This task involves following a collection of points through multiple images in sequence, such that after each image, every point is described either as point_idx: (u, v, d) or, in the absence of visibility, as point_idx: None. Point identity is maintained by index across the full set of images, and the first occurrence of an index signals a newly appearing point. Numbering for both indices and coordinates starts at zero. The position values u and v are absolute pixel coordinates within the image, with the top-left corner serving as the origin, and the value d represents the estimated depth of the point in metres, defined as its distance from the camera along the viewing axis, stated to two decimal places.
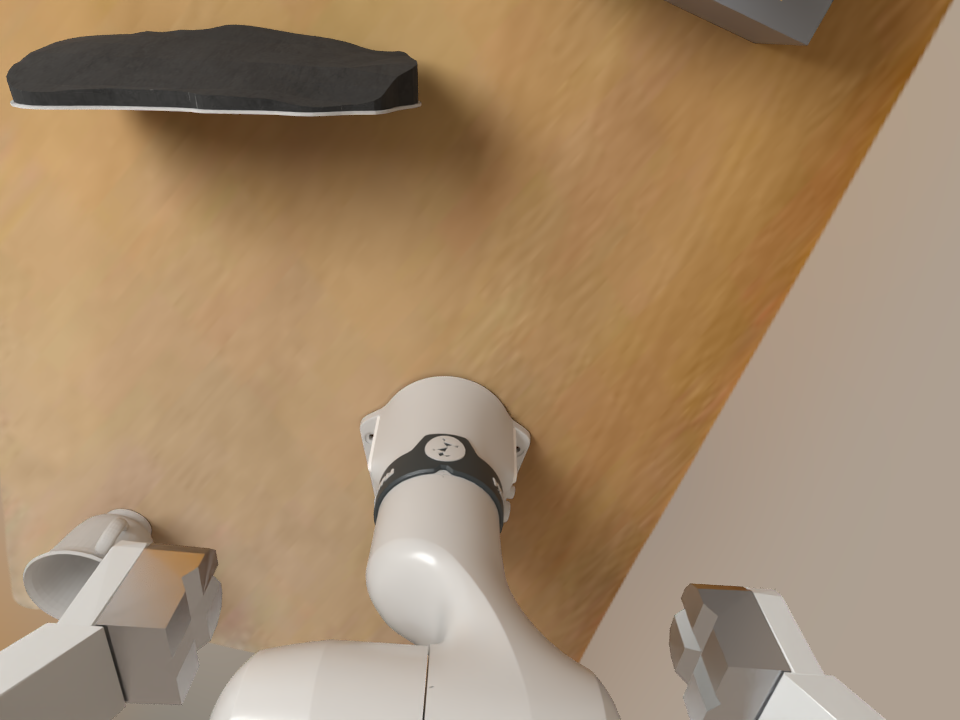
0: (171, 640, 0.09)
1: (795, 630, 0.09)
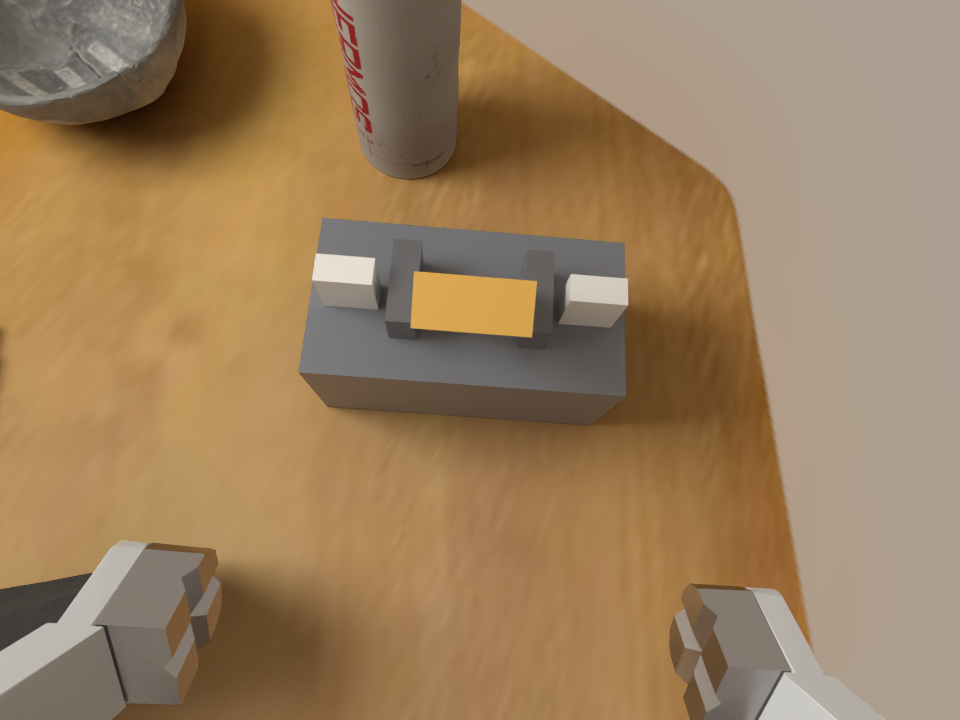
0: (171, 640, 0.09)
1: (794, 630, 0.09)
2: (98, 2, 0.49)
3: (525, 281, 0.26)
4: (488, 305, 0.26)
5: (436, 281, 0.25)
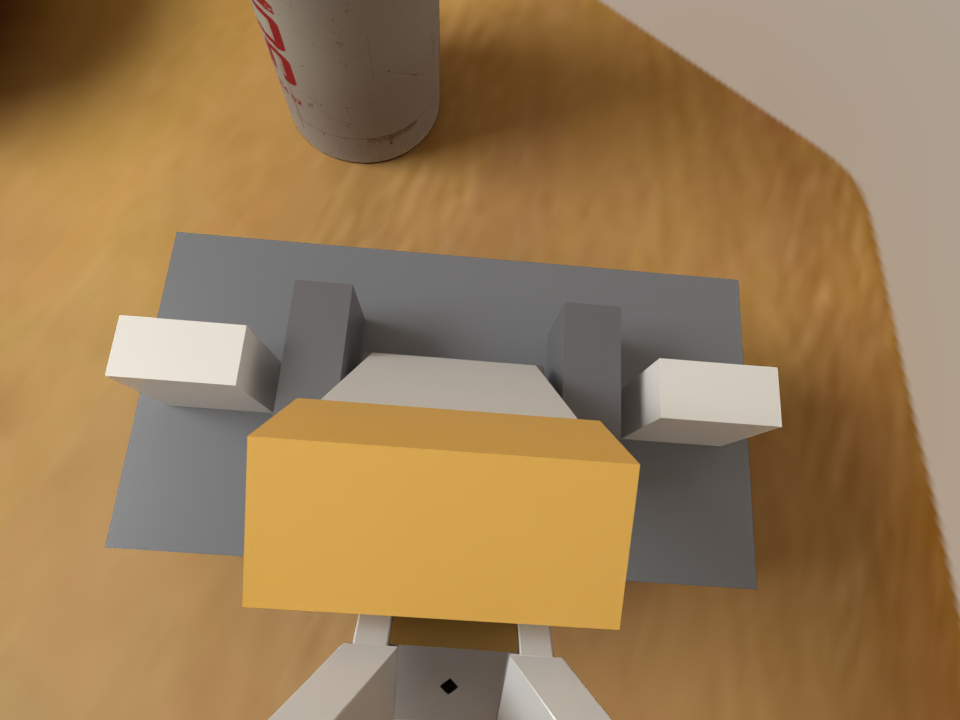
0: (453, 659, 0.09)
1: None
2: None
3: (603, 466, 0.08)
4: (486, 538, 0.08)
5: (319, 466, 0.08)
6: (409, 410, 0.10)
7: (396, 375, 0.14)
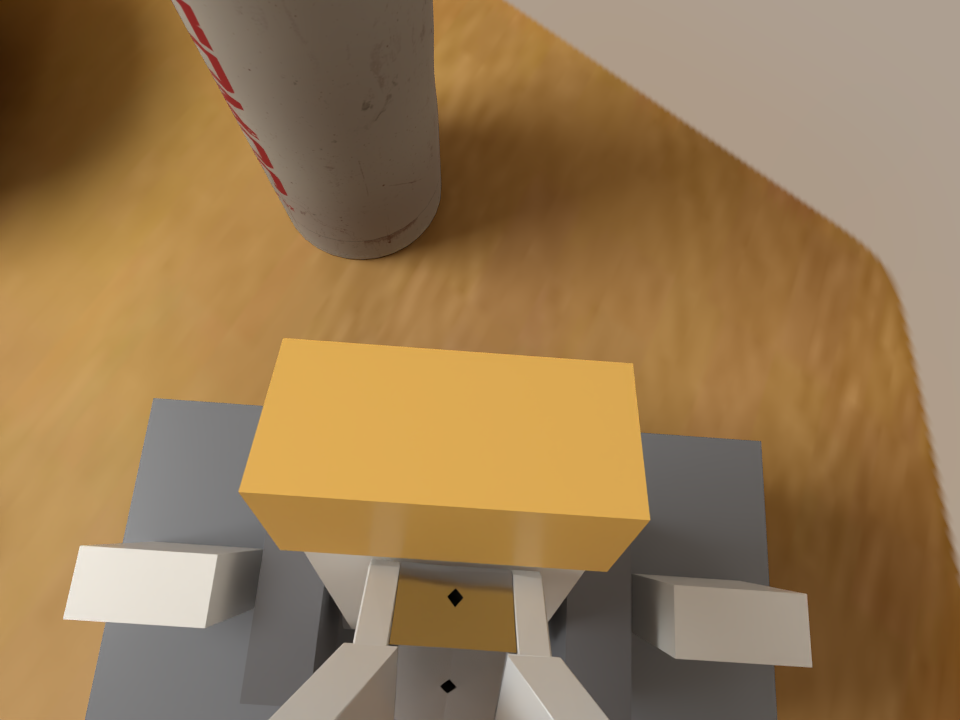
0: (453, 659, 0.09)
1: (538, 612, 0.09)
2: None
3: (600, 362, 0.09)
4: (498, 424, 0.08)
5: (343, 362, 0.09)
6: None
7: None
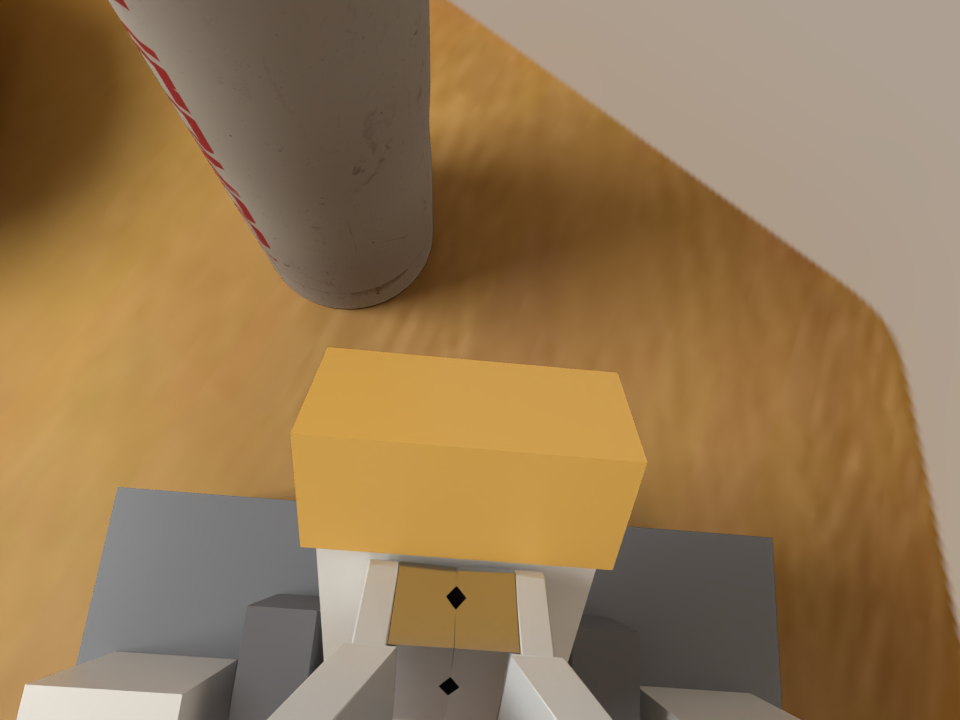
0: (452, 659, 0.09)
1: (540, 613, 0.09)
2: None
3: None
4: (511, 402, 0.10)
5: (378, 362, 0.10)
6: None
7: None
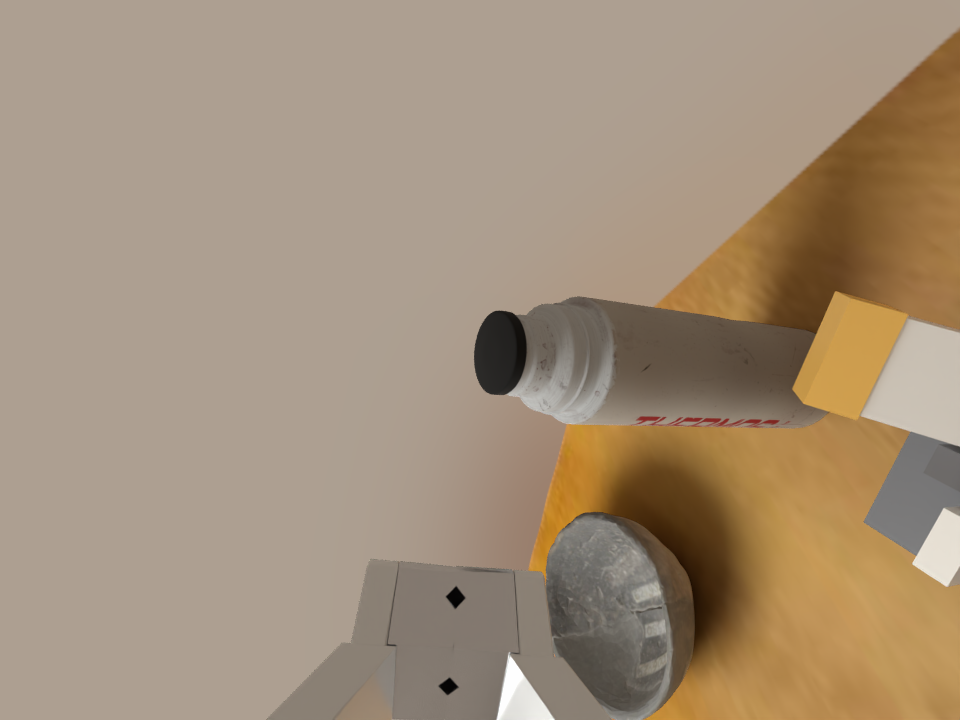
0: (451, 659, 0.09)
1: (540, 612, 0.09)
2: (606, 573, 0.61)
3: None
4: (825, 334, 0.29)
5: (801, 373, 0.30)
6: None
7: None
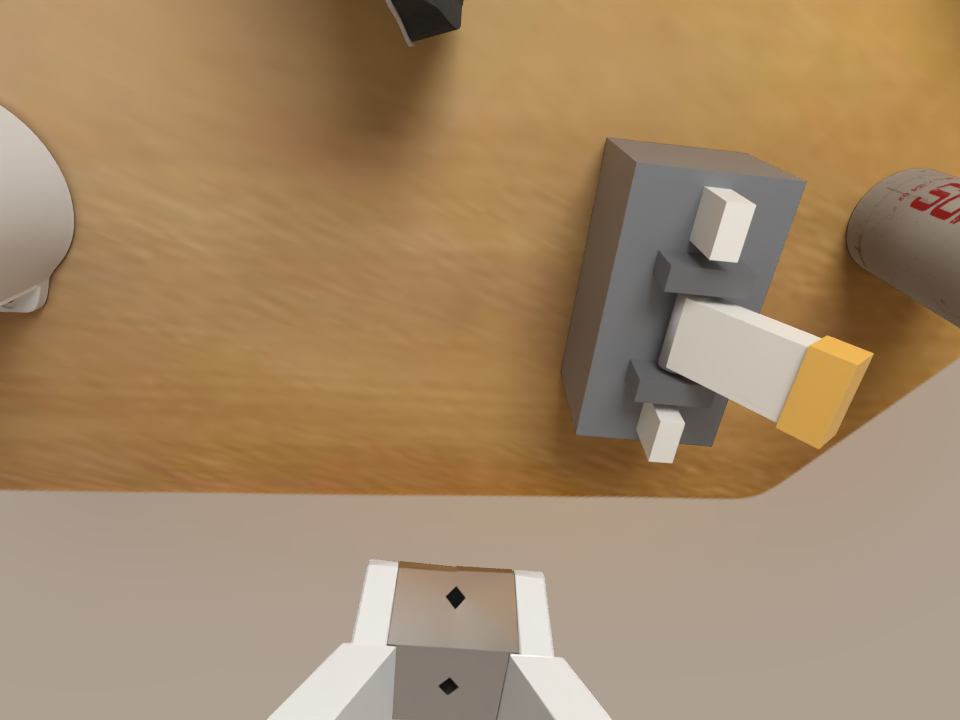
0: (451, 659, 0.09)
1: (540, 613, 0.09)
2: None
3: None
4: (841, 412, 0.32)
5: (864, 371, 0.32)
6: None
7: None
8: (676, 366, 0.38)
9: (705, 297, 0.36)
